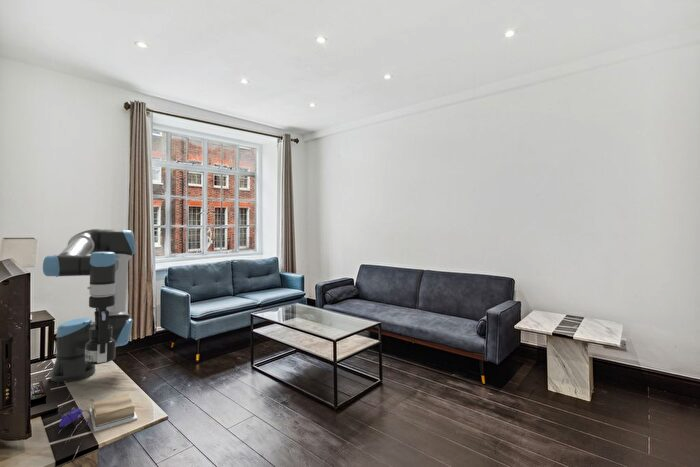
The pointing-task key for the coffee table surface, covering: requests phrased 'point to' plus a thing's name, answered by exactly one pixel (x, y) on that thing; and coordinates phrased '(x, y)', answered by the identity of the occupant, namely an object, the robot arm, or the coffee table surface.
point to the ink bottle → (92, 347)
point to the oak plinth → (112, 409)
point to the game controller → (71, 417)
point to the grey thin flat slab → (112, 423)
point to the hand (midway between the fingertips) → (100, 357)
